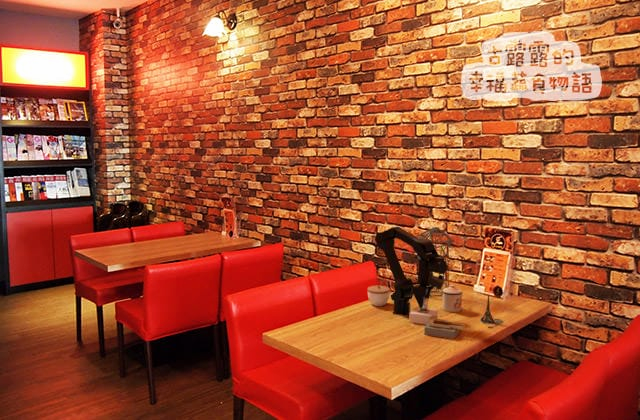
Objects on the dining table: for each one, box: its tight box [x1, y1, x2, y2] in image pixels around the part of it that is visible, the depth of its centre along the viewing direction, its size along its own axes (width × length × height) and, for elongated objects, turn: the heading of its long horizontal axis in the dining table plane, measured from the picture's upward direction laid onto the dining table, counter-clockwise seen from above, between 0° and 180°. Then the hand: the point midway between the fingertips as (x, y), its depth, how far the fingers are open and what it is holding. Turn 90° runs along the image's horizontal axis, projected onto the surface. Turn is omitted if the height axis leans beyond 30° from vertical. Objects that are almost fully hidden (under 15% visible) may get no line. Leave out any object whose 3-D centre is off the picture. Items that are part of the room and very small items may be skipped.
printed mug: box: [441, 284, 463, 313], centre depth 252 cm, size 12×9×12 cm
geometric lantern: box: [416, 226, 455, 297], centre depth 275 cm, size 16×16×35 cm
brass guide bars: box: [429, 315, 466, 331], centre depth 220 cm, size 14×6×3 cm, turn 64°
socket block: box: [424, 323, 460, 340], centre depth 221 cm, size 12×10×3 cm
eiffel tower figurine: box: [479, 293, 504, 329], centre depth 233 cm, size 15×10×13 cm
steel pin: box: [420, 297, 429, 313], centre depth 236 cm, size 3×3×10 cm
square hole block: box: [408, 306, 439, 326], centre depth 236 cm, size 10×10×4 cm
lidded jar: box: [367, 284, 391, 307], centre depth 260 cm, size 11×11×9 cm
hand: (423, 304), depth 236 cm, fingers open, 9 cm apart
